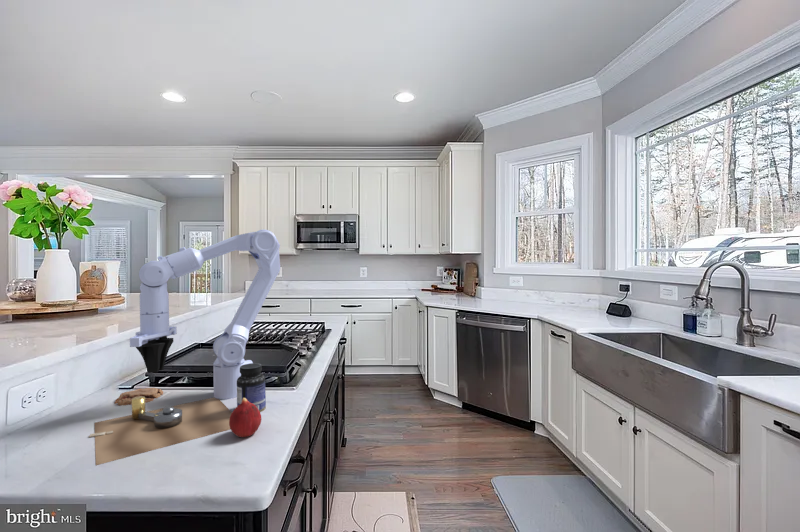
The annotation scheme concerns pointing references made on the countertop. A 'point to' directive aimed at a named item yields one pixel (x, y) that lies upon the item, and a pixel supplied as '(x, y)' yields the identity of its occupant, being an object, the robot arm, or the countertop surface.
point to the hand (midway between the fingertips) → (155, 371)
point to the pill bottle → (252, 385)
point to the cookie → (138, 395)
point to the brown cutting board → (158, 430)
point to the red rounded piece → (245, 419)
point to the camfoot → (161, 418)
